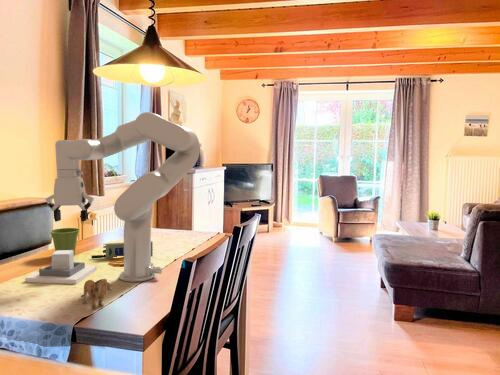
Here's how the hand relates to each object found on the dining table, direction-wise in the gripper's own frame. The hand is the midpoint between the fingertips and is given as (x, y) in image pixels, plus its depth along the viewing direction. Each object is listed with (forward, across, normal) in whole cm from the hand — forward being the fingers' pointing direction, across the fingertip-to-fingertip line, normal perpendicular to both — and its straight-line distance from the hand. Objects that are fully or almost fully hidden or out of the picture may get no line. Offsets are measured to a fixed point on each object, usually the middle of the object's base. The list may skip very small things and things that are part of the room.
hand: (70, 220), depth 140 cm
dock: (+20, +3, +2) cm, 20 cm away
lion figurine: (+21, -20, +27) cm, 40 cm away
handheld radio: (+21, -10, -24) cm, 34 cm away
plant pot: (+20, +15, -24) cm, 35 cm away
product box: (+19, +3, +2) cm, 19 cm away
